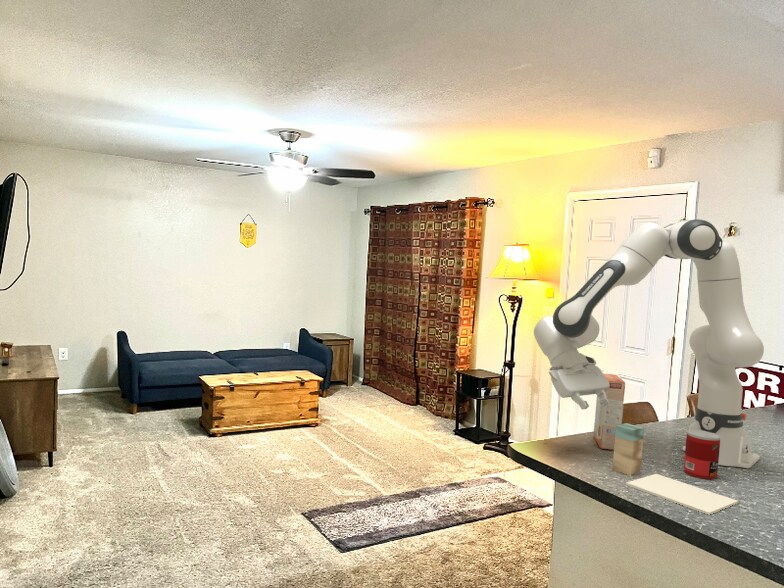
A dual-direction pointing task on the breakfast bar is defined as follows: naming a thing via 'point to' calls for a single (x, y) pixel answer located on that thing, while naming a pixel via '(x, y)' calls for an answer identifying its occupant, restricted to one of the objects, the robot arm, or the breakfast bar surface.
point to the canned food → (702, 454)
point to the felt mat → (682, 493)
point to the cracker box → (609, 413)
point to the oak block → (628, 449)
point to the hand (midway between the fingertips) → (596, 406)
